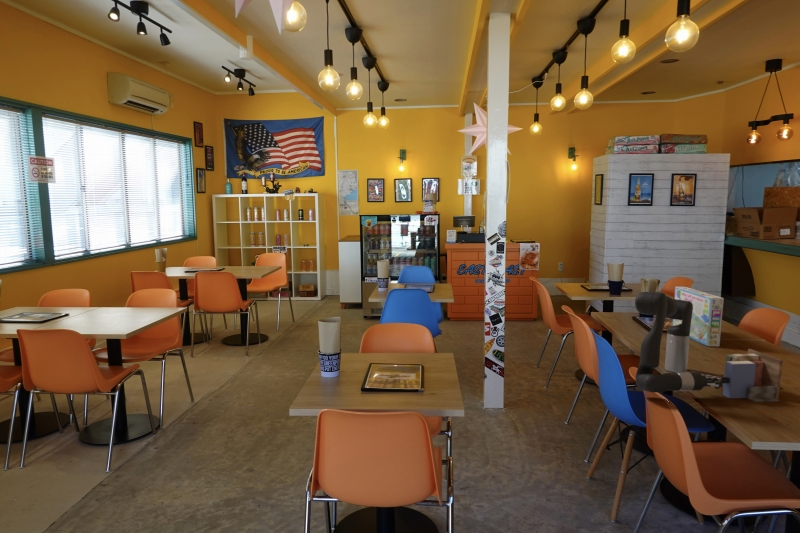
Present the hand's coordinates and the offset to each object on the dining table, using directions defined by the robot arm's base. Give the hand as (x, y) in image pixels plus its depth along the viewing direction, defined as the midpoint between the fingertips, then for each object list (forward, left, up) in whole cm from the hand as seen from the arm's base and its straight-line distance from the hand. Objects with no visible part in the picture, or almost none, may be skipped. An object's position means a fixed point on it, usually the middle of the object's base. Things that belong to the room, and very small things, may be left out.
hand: (727, 379), depth 213 cm
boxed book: (-2, +5, -7) cm, 9 cm away
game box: (-103, +7, -7) cm, 103 cm away
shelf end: (-8, +11, -7) cm, 15 cm away
